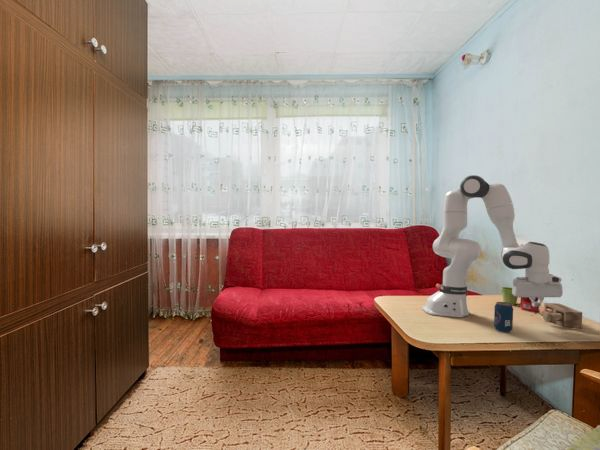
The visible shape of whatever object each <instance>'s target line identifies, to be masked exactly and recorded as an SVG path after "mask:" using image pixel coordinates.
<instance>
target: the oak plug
mask: <svg viewBox="0 0 600 450" xmlns="http://www.w3.org/2000/svg"><path fill="white" fill-rule="evenodd" d="M542 318H543V320H544V321H545V322H551V320H559V321H564V314H561V313H549V312H544V313H543V316H542Z"/></svg>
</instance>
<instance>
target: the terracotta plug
mask: <svg viewBox="0 0 600 450" xmlns="http://www.w3.org/2000/svg"><path fill="white" fill-rule="evenodd" d="M544 312H549V313H553V309H546V308H545V307H544V306H543V307H539V314H540V316H541V317H543V313H544Z"/></svg>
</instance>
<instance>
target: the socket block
mask: <svg viewBox="0 0 600 450" xmlns="http://www.w3.org/2000/svg"><path fill="white" fill-rule="evenodd" d="M543 307H545V308H546V309H553V313H561V314H564V321H559V320H551V321H550V322H551V323H553V324H556V325H558V326H560V327H561V328H563V329H572V328H576V330H582V328H583V312H582V311H579V310H577V309H574V308H572V307H569V306H568V305H564V304H561V303H556V302H555V303H553V302H552V303H551V302H550V303H549V302H545V303H544V306H543Z"/></svg>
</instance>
